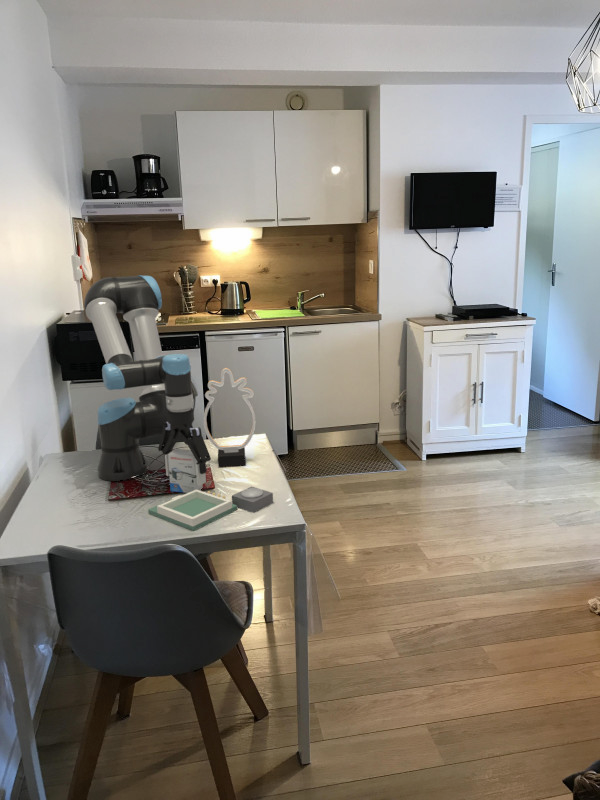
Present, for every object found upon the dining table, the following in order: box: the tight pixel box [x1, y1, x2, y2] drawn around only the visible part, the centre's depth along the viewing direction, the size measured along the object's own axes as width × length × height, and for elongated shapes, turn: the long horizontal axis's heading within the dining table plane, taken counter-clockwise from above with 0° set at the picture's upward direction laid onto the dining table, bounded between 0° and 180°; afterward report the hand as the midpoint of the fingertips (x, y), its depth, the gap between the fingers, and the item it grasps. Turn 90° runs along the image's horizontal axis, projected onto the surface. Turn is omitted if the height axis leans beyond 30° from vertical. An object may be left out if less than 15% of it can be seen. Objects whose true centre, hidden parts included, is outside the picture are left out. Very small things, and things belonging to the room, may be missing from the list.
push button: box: [231, 486, 274, 514], centre depth 179 cm, size 8×8×4 cm
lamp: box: [203, 367, 257, 469], centre depth 209 cm, size 17×9×32 cm, turn 96°
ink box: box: [168, 448, 204, 494], centre depth 189 cm, size 9×5×12 cm, turn 74°
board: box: [147, 489, 238, 532], centre depth 175 cm, size 18×16×3 cm
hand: (185, 479), depth 189 cm, fingers open, 13 cm apart
